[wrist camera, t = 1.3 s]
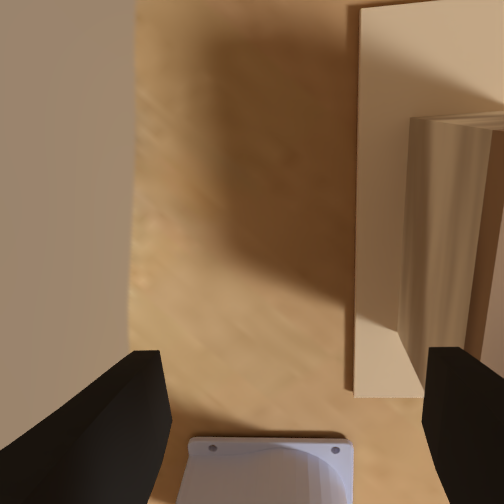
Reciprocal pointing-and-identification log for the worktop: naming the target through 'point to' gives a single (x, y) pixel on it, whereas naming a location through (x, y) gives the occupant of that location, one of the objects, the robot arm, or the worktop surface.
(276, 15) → the worktop surface
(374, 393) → the beige square board
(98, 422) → the robot arm
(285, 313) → the worktop surface
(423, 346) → the maple block
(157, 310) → the worktop surface
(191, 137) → the worktop surface
